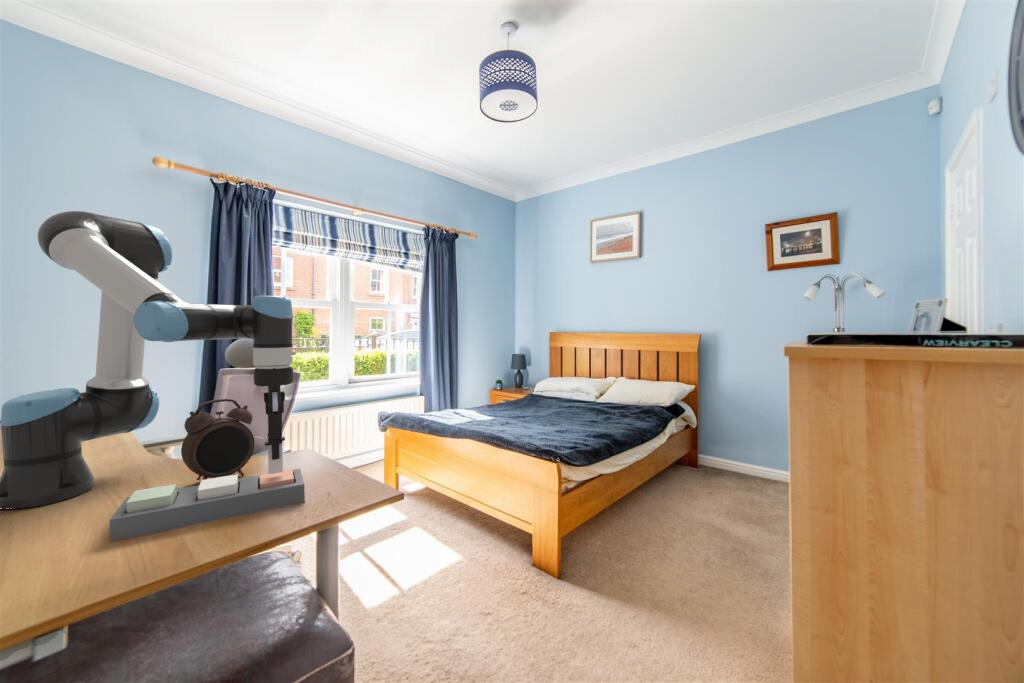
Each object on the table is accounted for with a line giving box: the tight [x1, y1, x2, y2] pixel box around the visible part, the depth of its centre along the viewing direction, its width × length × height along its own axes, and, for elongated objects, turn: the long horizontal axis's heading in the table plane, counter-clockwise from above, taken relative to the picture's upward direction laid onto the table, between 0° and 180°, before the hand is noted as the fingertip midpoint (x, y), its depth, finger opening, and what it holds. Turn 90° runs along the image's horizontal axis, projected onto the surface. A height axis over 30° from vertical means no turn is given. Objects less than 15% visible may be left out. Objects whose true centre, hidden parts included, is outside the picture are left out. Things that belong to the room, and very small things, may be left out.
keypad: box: [109, 468, 306, 543], centre depth 86 cm, size 11×31×4 cm, turn 122°
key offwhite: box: [198, 473, 239, 500], centre depth 86 cm, size 6×6×3 cm
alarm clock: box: [180, 398, 256, 481], centre depth 102 cm, size 15×7×20 cm, turn 143°
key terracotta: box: [260, 469, 294, 489], centre depth 91 cm, size 6×6×3 cm
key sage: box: [126, 483, 178, 513], centre depth 80 cm, size 6×6×3 cm
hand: (275, 472), depth 91 cm, fingers closed
